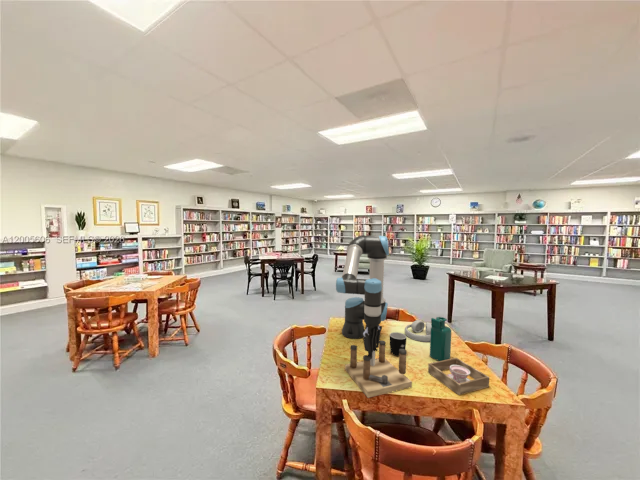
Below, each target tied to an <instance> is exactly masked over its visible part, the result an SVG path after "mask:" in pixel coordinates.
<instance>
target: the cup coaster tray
mask: <svg viewBox="0 0 640 480" xmlns="http://www.w3.org/2000/svg"><path fill="white" fill-rule="evenodd" d="M451 365H460V366H463V367H465V368H467V369H468V370H469V371H470V374H469V375H468V377H471V378H472V380H471V379H469V380H470V381H466V382H463V383H458V382H456V381H455V380H453V379H452V378H450V377H449V376H448V374H446V373H445V372H443V371H445V370H450V369H449V368H450V367H449V366H451ZM427 372H428V373H427V374H430V375H431V376H432V377H433V378H435V379H436V380H437V381H439V382H440V383H441V384H443V385H444V386H446V387H447V388H448V389H450V390H451V391H452V392H454V393H455V394H457V396H460V395H465V394H468V393H472V392H474V391H479V390H482V389H485V388H489V387H490V376H488V375H487V374H485V373H484V372H481V370H478V369H476V368H475V367H473V366H472V365H469V364H468V363H466V362H465V361H463V360H461V359H459V358H458V357H452V358H450V359H447V360H443V361H438V360H437V361H434V362H429V363H428V370H427Z"/></svg>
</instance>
